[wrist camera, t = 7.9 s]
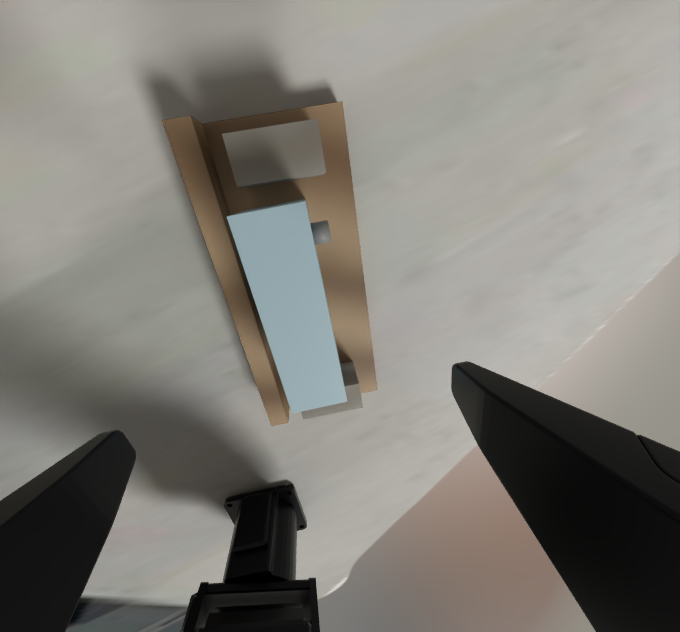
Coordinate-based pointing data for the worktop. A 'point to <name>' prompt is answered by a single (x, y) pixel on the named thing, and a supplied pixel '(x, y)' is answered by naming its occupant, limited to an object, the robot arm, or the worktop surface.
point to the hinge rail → (274, 188)
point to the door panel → (292, 299)
